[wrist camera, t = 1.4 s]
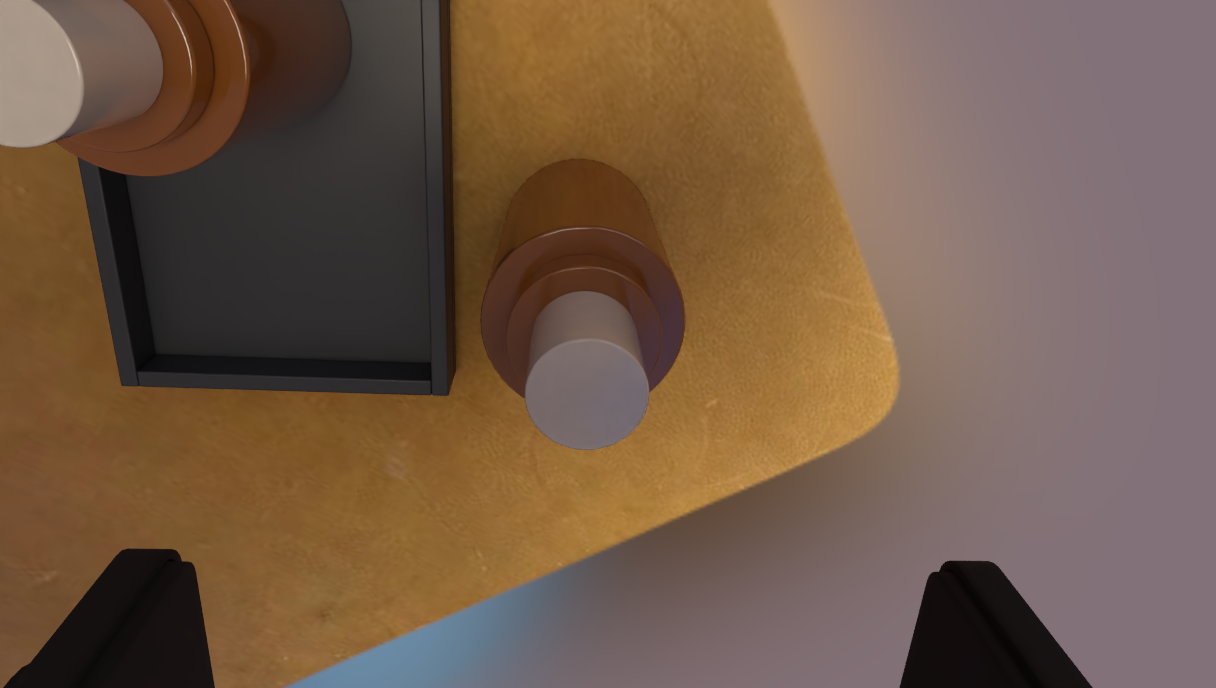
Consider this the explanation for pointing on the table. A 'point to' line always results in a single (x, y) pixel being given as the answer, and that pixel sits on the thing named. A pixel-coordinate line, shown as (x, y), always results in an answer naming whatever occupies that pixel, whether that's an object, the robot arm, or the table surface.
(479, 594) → the table surface
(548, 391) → the loose bottle
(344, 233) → the tray
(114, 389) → the table surface
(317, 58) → the bottle
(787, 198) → the table surface
